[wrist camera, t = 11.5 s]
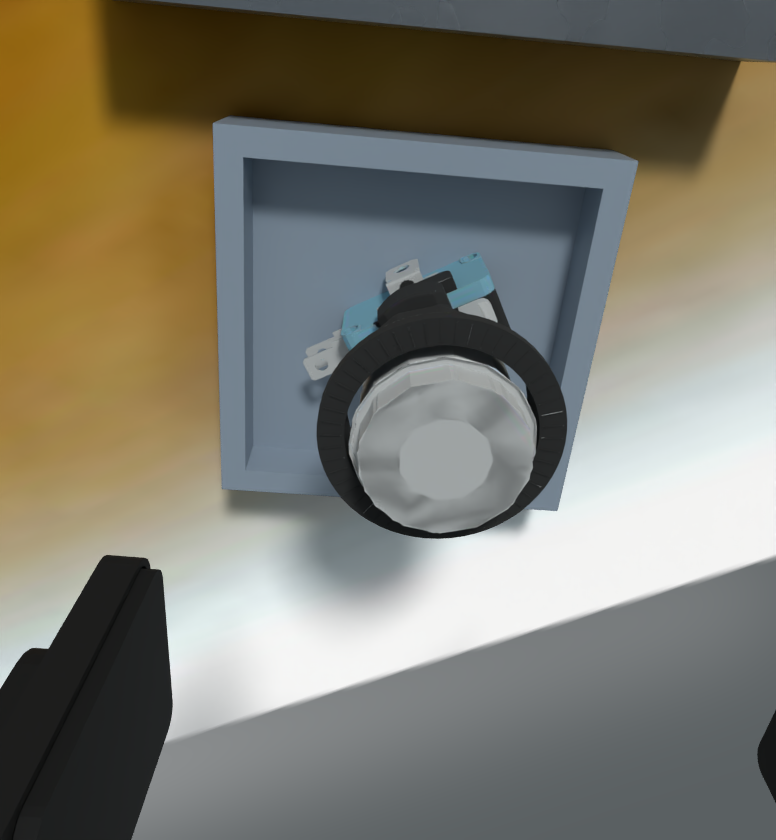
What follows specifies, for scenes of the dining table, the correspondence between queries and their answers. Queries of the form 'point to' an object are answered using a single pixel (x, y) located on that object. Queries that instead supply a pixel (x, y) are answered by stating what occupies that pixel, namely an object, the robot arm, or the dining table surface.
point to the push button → (436, 406)
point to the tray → (392, 264)
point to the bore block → (553, 21)
